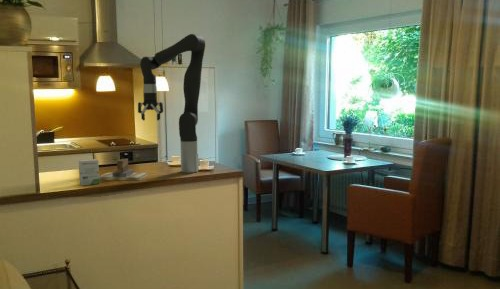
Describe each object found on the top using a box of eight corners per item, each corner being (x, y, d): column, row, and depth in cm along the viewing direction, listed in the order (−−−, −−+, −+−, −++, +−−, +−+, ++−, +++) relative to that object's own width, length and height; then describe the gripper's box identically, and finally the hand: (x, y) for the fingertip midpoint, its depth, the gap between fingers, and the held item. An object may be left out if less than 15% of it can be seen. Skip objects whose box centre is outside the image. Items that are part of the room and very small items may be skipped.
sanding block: (133, 173, 239) (132, 158, 238) (126, 177, 228) (125, 161, 227) (120, 173, 239) (119, 158, 238) (112, 176, 228) (112, 161, 227)
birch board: (147, 175, 239) (147, 172, 239) (139, 180, 227) (139, 177, 226) (107, 175, 241) (107, 172, 241) (97, 180, 228) (97, 177, 228)
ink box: (97, 182, 223) (96, 158, 221) (99, 183, 219) (98, 160, 217) (79, 183, 219) (78, 160, 217) (81, 185, 214) (79, 161, 213)
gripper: (163, 92, 261) (164, 120, 263) (139, 92, 262) (140, 120, 264) (160, 92, 254) (161, 120, 256) (135, 92, 255) (136, 120, 257)
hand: (150, 120), depth 260 cm, fingers open, 8 cm apart
